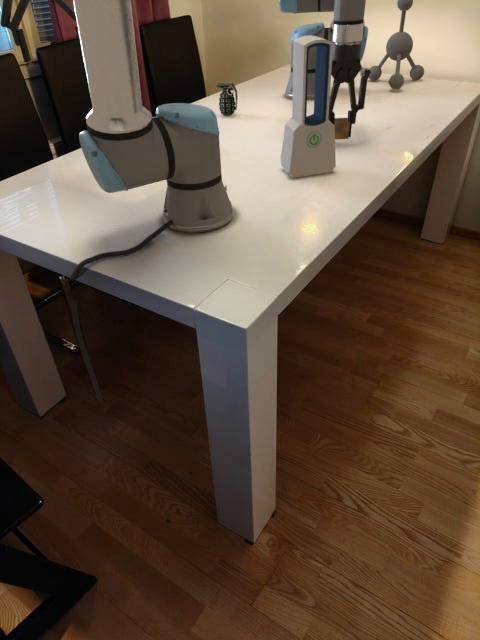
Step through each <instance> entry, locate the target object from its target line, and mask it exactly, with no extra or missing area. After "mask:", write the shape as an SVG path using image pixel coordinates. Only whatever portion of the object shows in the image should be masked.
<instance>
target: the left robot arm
mask: <svg viewBox="0 0 480 640" xmlns="http://www.w3.org/2000/svg"><path fill="white" fill-rule="evenodd" d="M53 1H54V2H55V3H56V4H57V5H58V6H59V7H60V8H61V9H62V10H63V11H64V12H65V13H66V14H67V15H68V16H69V17H70V18H71V19H72V20H73V21H74V22H75V23H76V24H77V25H76V26H75V27H74V28H75V33H76V36H77V41H78V45H79V46H78V47H79V50H80V55H81V59H82V60H83V63H84V69H85V73H86V79H87V84H88V85H87V86H88V90H89V95H90V102H91V106H92V109H91V110H90V111H89V112H88V113H87V115H86V116H85V120H86V121H85V123H86V127H87V130H85V129H84V130H82V131H81V132H79V134H78V137H79V138H78V139H79V145H80V148H81V151H82V153H83V157H84V159H85V161H86V163H87V166H88V168H89V170H90V172H91V174H92V177H93V178H94V180H95V181H96V183H97V185H98V186H99V187H100V189H101V190H102V191H104V192H106V193H109V194H114V193H117V192H119V193H120V192H124V191H125V192H128V191H129V190H131V189H136V188H140V187H143V186H147V185H151V184H155V183H160V182H163V181H166V190H165V191H166V192H165V196H164V203H163V207H162V218H163V222H164V224H162V225H161V226H160V227H159V228H157V229H156V230H155V231H153V232H152V233H150V234H149V235H148V236H147V237H145V238H144V239H143V240H142V241H141V242H140V243H138V244H137V245H135V246H132V247H131V248H130V247H129V248H127V249H123V250H114V251H107V252H102V253H98V254H95V255H93V256H90V257H87V258H85V259H84V260H82V261H80V262H79V263H78V264H77V265H76V266H75V268H74V269H73V271H72V273H71V276H70V278H69V279H70V281H72V282H73V281H75V280H77V278H78V276H79V275H80V272H81V270H83V268H84V267H85V266H87V265H89V264H91V263H94V262H97V261H99V260H103V259H106V258H114V257H122V256H128V255H131V254H134V253H136V252H138V251H140V250H141V249H143V248H144V247H145V246H147V245H148V244H149V243H150V242H151V241H152V240H153V239H155V238H156V237H158V236H159V235H160V234H161V233H163V232H164V231H166V230H167V229H168V228H169V229H171V230H173V231H177V232H180V233H190V234H191V233H192V234H193V233H194V234H195V233H196V234H197V233H205V232H206V233H207V232H210V231H215V230H216V229H220V228H222V227H224V226H226V225H227V224H228V223H230V221H231V220H232V218H233V216H234V212H233V211H234V210H233V205H232V201H231V200H230V197H229V195H228V192H227V191H228V188H227V187H228V186H227V185H225V184H224V182H223V175H222V174H223V173H222V161H221V159H222V158H221V147H220V146H221V145H220V133H221V132H220V129H219V124H218V117H217V114H216V112H215V111H214V110H213V109H212V108H209V107H208V106H204V105H201V104H194V103H185V102H179V103H178V102H175V103H173V102H172V103H163V104H161V105H158V106H157V107H156V110H155V116H153V115H152V113H151V111H150V110H148V109H147V108H146V107H145V106H143V100H142V99H143V98H142V90H141V82H140V73H139V63H138V54H137V53H138V52H137V45H136V44H137V43H136V35H135V28H134V18H133V17H134V16H133V7H132V0H71V1H72V3H73V6H72V5H71V4H70V3H69V2H68V1H67V0H53ZM13 2H14V0H2V8H1V15H0V26H1V27H2V28H6V29H9V30H10V31H11V35H12V37H13V38H12V39H13V42H14V45H15V46H16V47H19V49H20V52H21V55H22V59H23V62H24V63H30V62H31V61H32V58H31V54H30V50H29V47H28V43H27V39H26V36H25V32H24V29H23V28H20V25H21V22H22V20H23V17H24V16H25V13H26V11H27V8H28V6H29V3H30V2H31V0H19V1H18V4H17V6H16V9H15V11H14V13H13V16H12V9H13ZM11 17H12V18H11ZM152 117H154V118H152ZM70 305H71V313H72V319H73V325H74V330H75V334H76V338H77V342H78V346H79V349H80V352H81V354H82V358H83V361H84V364H85V366H86V369H87V371H88V374H89V377H90V380H91V382H92V386H93V388H94V391H95V395H96V399H97V401H98V402H102V401H103V400H104V399H103V396H102V392H101V390H100V386H99V383H98V380H97V377H96V374H95V371H94V369H93V366H92V364H91V360H90V357H89V355H88V352H87V349H86V346H85V345H86V344H85V342H84V338H83V334H82V330H81V325H80V319H79V311H78V303H77V300H75V299H72V298H71V299H70Z"/></svg>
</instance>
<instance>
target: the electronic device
mask: <svg viewBox="0 0 480 640" xmlns="http://www.w3.org/2000/svg"><path fill="white" fill-rule="evenodd" d="M314 46H317V48H316V71H315V95H314V99H313V100H314V101H313V113H312V114H310V115H307V112H308V111H307V106H308V100H307V82H308V52H309V48H311V47H314ZM332 52H333V42H331V41H328V40H325V39H323V38H320V37H317V36H311V35H309V36H303V37H300V38H298V39H296V40H294V41H293V99H291V100H292V102H291V103H292V104H291V105H292V106H291V109H292V110H291V111H292V113H291V118H289V119H288V120H287V121H286V123H285V124H284V129H283V130H284V131H283V137H282V145H281V151H280V152H281V153H280V165H281V167H282V168H283V169H284V170H285V171H286V172H287V173H288V174H289V175H290V176H291V177H292V178H294V179H295V178H301V177H307V176H313V175H314V176H315V175H319V174H326V173H332V172H333V170H334V169H335V168H336V140H335V125H333V124H332V123H331V122H330V121H329V120H328V117H329V101H330V94H331V83H332V81H331V80H332V75H331V68H332Z"/></svg>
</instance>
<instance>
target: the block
mask: <svg viewBox="0 0 480 640" xmlns="http://www.w3.org/2000/svg"><path fill="white" fill-rule="evenodd" d="M334 125H335V141H336V140H349V138H350V137H349V126H350V122H349V120H348V119H347V117H335V121H334Z"/></svg>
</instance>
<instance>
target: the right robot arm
mask: <svg viewBox="0 0 480 640" xmlns="http://www.w3.org/2000/svg"><path fill="white" fill-rule="evenodd" d="M366 2H367V0H278V7H279V10H280V12H281V13H283V14H294V15H295V14H309V13H333V19H332V20H331V21H330V24H329V26H330V27H325V26H326V25H325V23H324V22H313V23H307V24H303V25H300V26H297V27H294V29H292V32H291V35H290V36H291V37H290V73H289V77H288V81H287V84H286V87H285V97H286V98H287V99H290V100H292V99H293V41H294V40H296V39H298V38H300V37H303V36H309V35H311V36H317V37H320V38H323V39H325V40H328V41H331V42H333V52H332V68H331V78H333V82H332V87H331V89H330V101H329V117H328V120H329V121H330V122H331V123H332V124H333V125H334V121H335V118H336V113H335V112H334V108H335V104H336V100H337V96H338V93H339V88H340V87H341V84H344V83H346V84H347V87H348V96H349V104H350V109H349V110H347V117H346V118H347V119H348V120H349V122H350V126H349V137H348V138H351V137H352V127H353V126H352V125H355V124H356V121H357V113H358V111H360V110H364V108H365V102H366V94H367V87H368V81H369V80H368V79H369V78H368V77H369V75H370V73H371V71H370V70H369V69H370V68H368V67H363V66H362V63H361V62H362V61H363V59H364V55H365V51H366V47H367V41H368V37H369V36H368V35H369V27H368V26H366V25H365V23H366V22H365V12H366V11H365V10H366ZM316 48H317V46H314V47H311V48H309V52H308V82H307V101H309V100H314V95H315V71H316ZM359 74H360V81H359V82H360V83H359V90H358V99H357V95H356V85H355V84H356V83H355V79H356V77H357V76H358V75H359Z"/></svg>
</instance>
